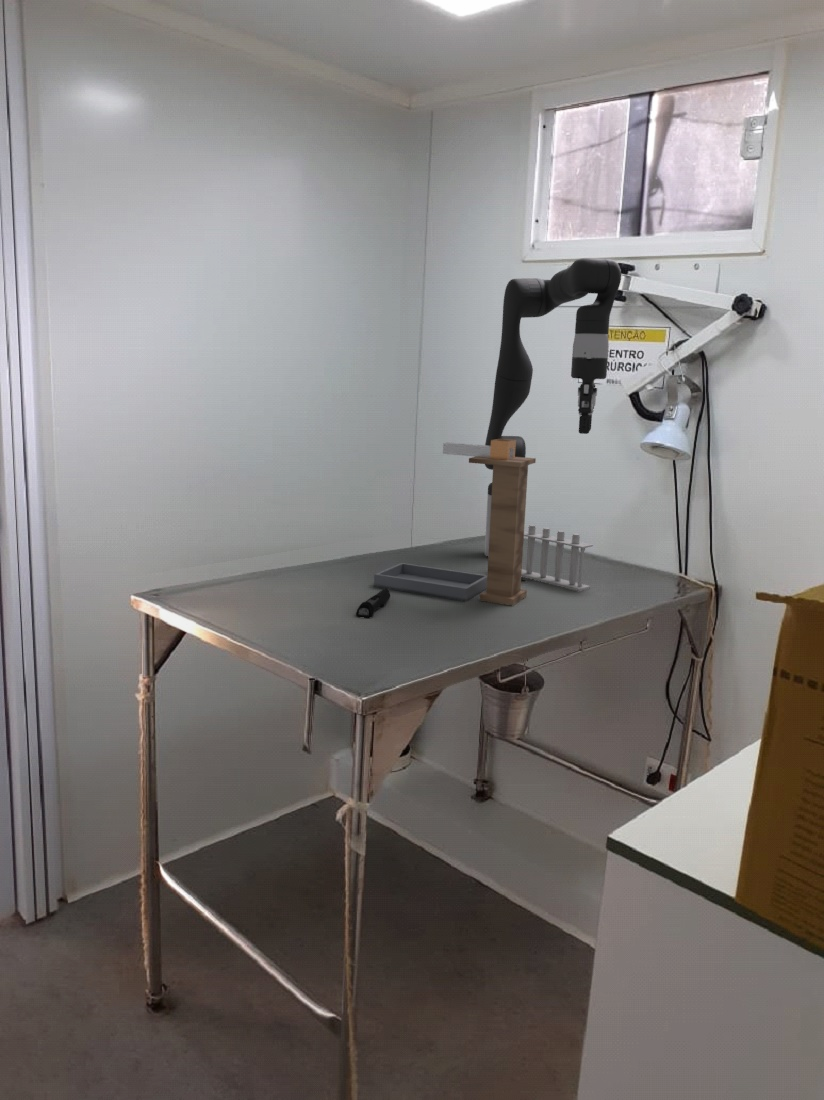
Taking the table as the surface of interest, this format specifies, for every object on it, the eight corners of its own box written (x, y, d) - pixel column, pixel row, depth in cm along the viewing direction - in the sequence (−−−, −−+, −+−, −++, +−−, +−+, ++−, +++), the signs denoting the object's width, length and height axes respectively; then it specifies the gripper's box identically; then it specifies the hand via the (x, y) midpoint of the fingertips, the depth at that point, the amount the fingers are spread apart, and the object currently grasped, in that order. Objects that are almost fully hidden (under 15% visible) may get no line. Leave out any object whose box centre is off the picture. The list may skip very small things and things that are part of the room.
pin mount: (478, 588, 205) (485, 454, 198) (527, 596, 200) (535, 458, 193) (462, 598, 197) (468, 458, 190) (512, 606, 191) (520, 462, 184)
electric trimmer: (394, 601, 194) (394, 588, 193) (371, 620, 179) (371, 605, 179) (378, 600, 195) (378, 586, 194) (354, 618, 180) (354, 603, 180)
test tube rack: (589, 589, 209) (594, 535, 206) (579, 592, 206) (583, 537, 203) (510, 569, 226) (513, 519, 223) (499, 571, 223) (501, 521, 220)
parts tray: (401, 574, 216) (401, 562, 216) (488, 587, 206) (489, 575, 206) (374, 586, 204) (374, 574, 204) (466, 601, 194) (466, 588, 193)
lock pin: (449, 452, 200) (450, 435, 199) (514, 457, 193) (515, 439, 192) (440, 454, 195) (441, 436, 194) (507, 459, 188) (508, 441, 188)
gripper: (574, 356, 193) (569, 429, 196) (570, 355, 179) (565, 433, 183) (608, 357, 191) (603, 430, 195) (607, 356, 178) (601, 435, 181)
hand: (584, 432), depth 189 cm, fingers open, 8 cm apart
